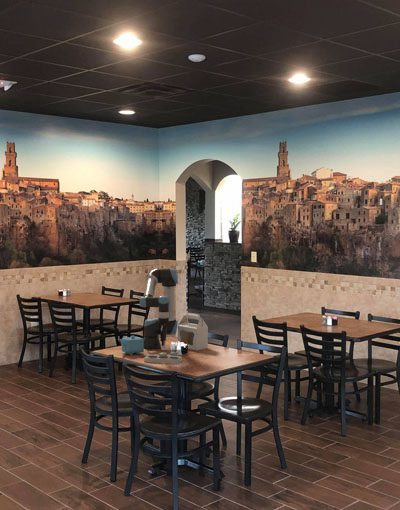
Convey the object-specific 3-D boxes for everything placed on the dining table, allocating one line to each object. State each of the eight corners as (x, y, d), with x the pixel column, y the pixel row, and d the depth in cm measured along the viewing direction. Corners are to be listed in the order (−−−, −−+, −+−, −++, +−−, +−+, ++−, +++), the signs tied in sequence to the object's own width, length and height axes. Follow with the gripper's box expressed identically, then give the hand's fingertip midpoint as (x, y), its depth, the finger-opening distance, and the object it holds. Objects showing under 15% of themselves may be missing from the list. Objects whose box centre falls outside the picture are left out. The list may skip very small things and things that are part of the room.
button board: (148, 358, 473) (148, 354, 473) (181, 360, 469) (181, 356, 469) (144, 362, 462) (144, 357, 461) (178, 363, 457) (178, 359, 457)
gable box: (177, 346, 523) (177, 312, 522) (188, 344, 533) (189, 311, 531) (196, 350, 508) (197, 315, 507) (208, 348, 517) (208, 313, 516)
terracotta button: (149, 352, 470) (149, 350, 470) (157, 353, 469) (157, 351, 469) (147, 354, 464) (147, 352, 464) (155, 354, 463) (155, 352, 463)
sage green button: (160, 354, 469) (160, 352, 469) (168, 354, 468) (168, 352, 468) (158, 356, 463) (158, 353, 463) (166, 356, 462) (166, 354, 462)
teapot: (140, 351, 501) (140, 333, 500) (146, 353, 492) (147, 336, 491) (114, 354, 489) (114, 336, 488) (120, 356, 480) (121, 338, 479)
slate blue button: (170, 353, 467) (170, 351, 467) (178, 354, 466) (178, 352, 466) (168, 355, 461) (168, 353, 461) (177, 356, 460) (177, 353, 460)
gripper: (160, 315, 471) (160, 347, 472) (156, 318, 458) (156, 351, 460) (170, 316, 470) (170, 348, 471) (166, 319, 457) (166, 351, 458)
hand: (163, 349), depth 465 cm, fingers closed
